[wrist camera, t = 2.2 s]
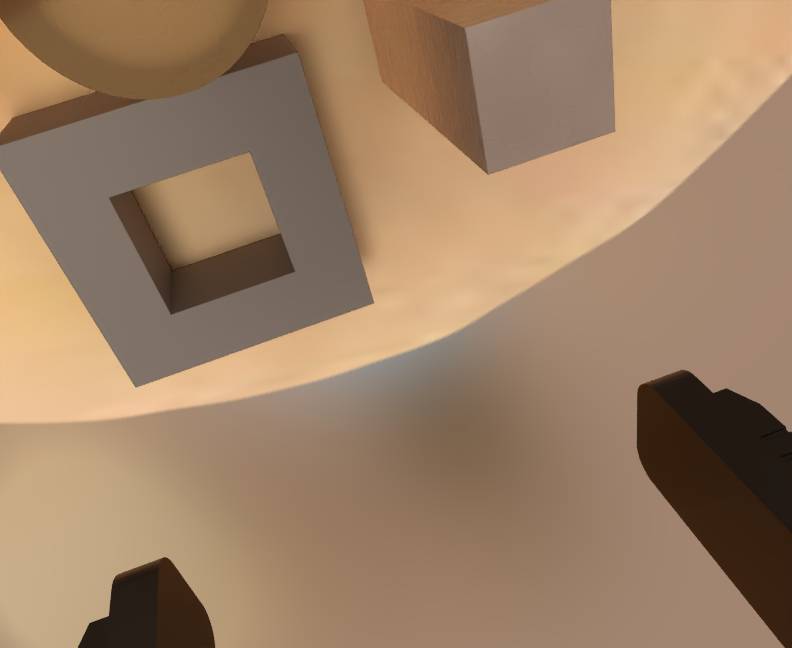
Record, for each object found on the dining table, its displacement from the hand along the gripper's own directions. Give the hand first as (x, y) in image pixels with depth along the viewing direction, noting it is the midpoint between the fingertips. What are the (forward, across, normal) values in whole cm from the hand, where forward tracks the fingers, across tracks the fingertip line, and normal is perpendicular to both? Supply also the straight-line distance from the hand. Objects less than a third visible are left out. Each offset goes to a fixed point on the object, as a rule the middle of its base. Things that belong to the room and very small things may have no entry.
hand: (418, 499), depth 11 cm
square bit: (+22, -7, -2) cm, 23 cm away
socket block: (+22, +4, +2) cm, 22 cm away
